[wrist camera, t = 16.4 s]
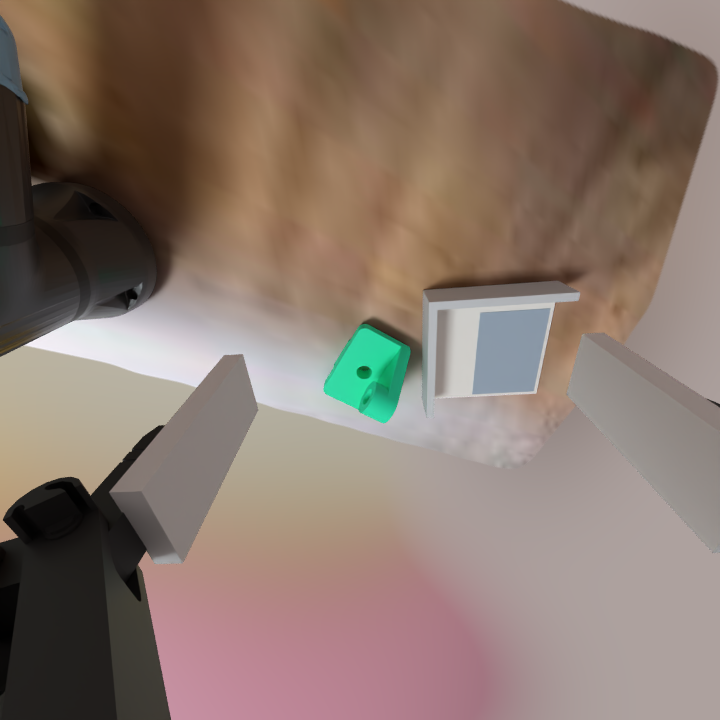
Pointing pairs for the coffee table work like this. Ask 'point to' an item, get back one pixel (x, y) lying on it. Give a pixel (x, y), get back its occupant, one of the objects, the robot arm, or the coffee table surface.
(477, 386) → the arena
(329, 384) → the camera mount
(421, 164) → the coffee table surface
